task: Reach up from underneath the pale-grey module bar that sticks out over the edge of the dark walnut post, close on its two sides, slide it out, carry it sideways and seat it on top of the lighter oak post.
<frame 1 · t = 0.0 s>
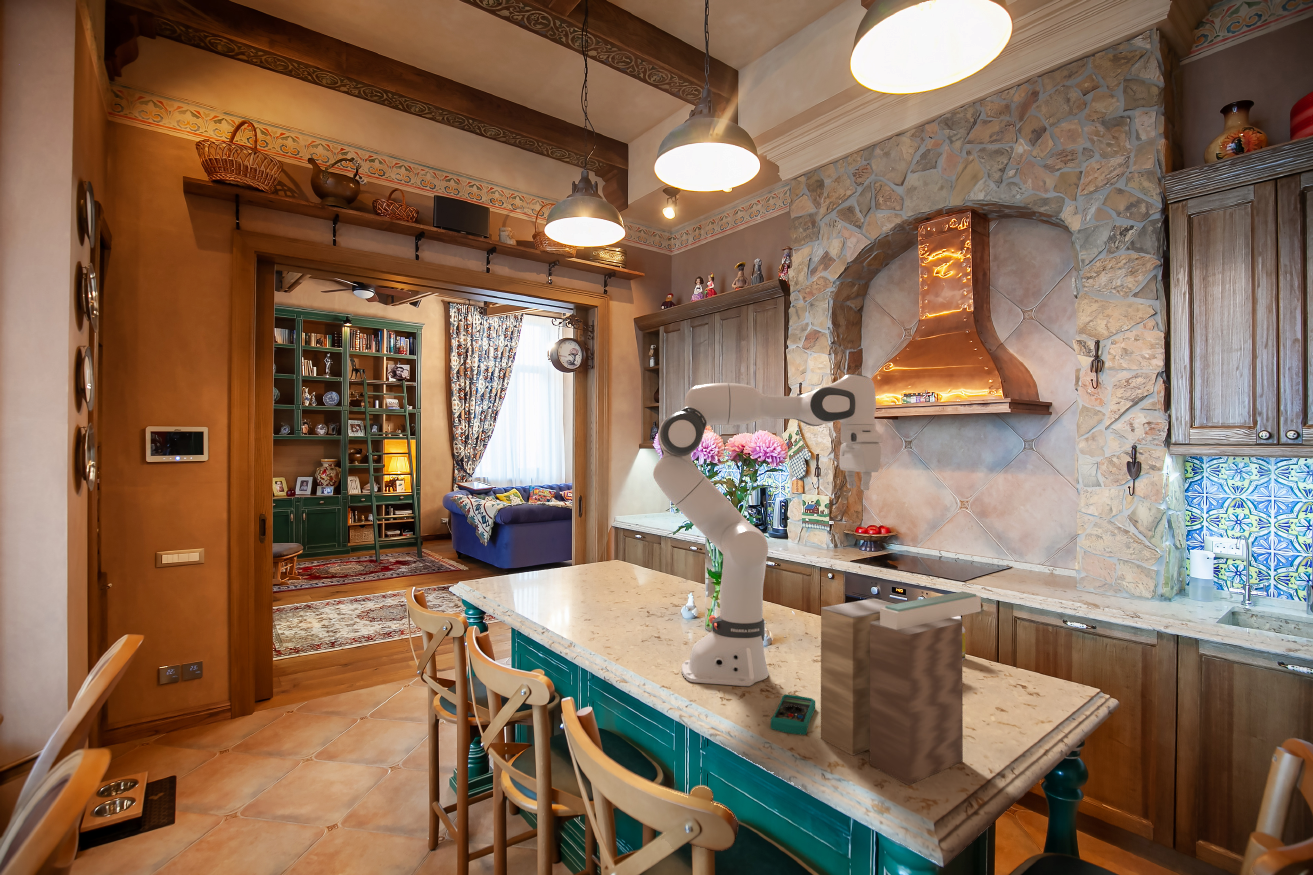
hand: (858, 488, 159), 48 cm above the countertop, tool pointing down, fingers open, 8 cm apart
walnut post: (916, 762, 112), on the countertop
digital multimeter: (793, 721, 130), on the countertop
oak post: (863, 736, 122), on the countertop
pill bottle: (952, 658, 171), on the countertop
module bar: (932, 617, 115), point 26 cm above the countertop, touching walnut post
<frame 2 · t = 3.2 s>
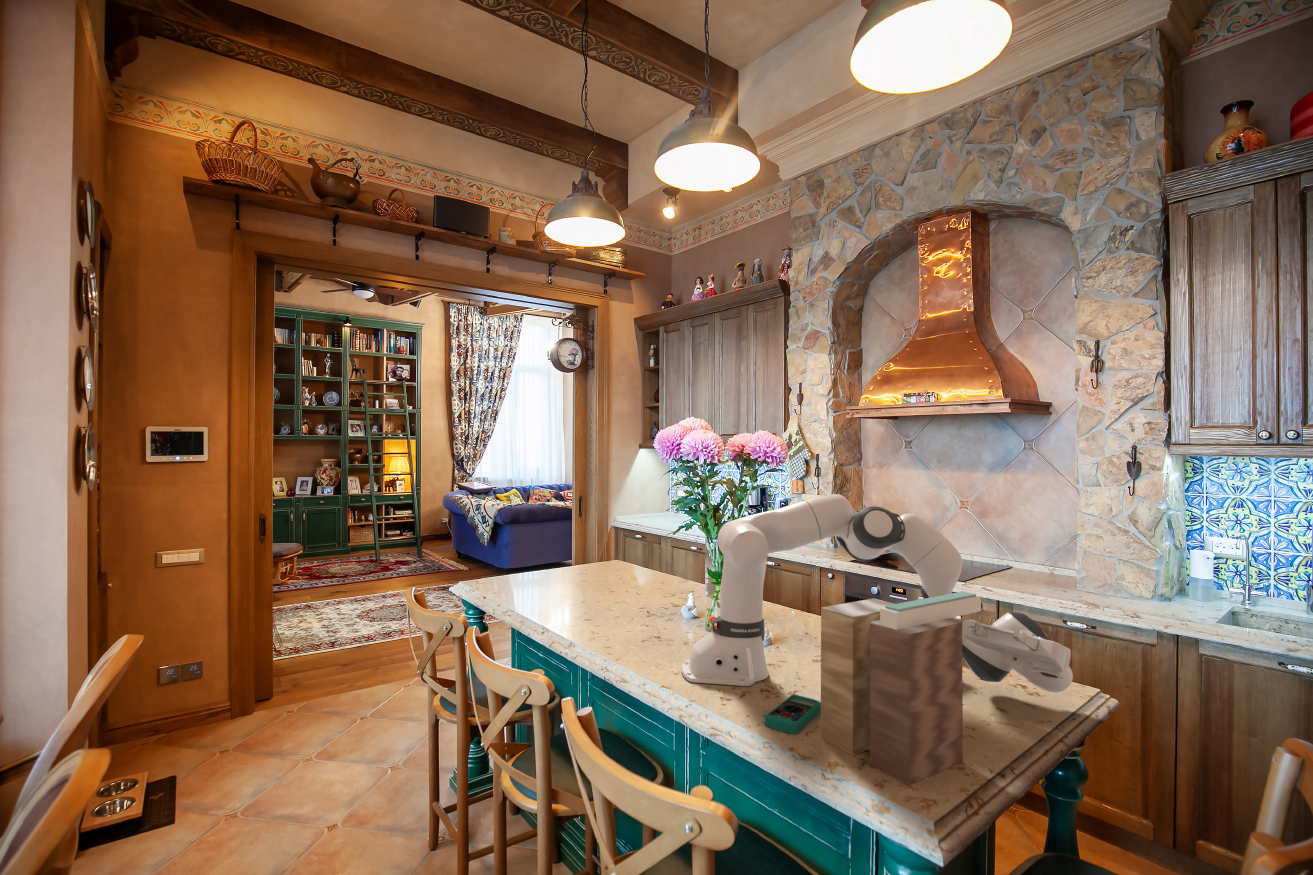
hand: (993, 628, 126), 21 cm above the countertop, tool pointing upward, fingers open, 8 cm apart
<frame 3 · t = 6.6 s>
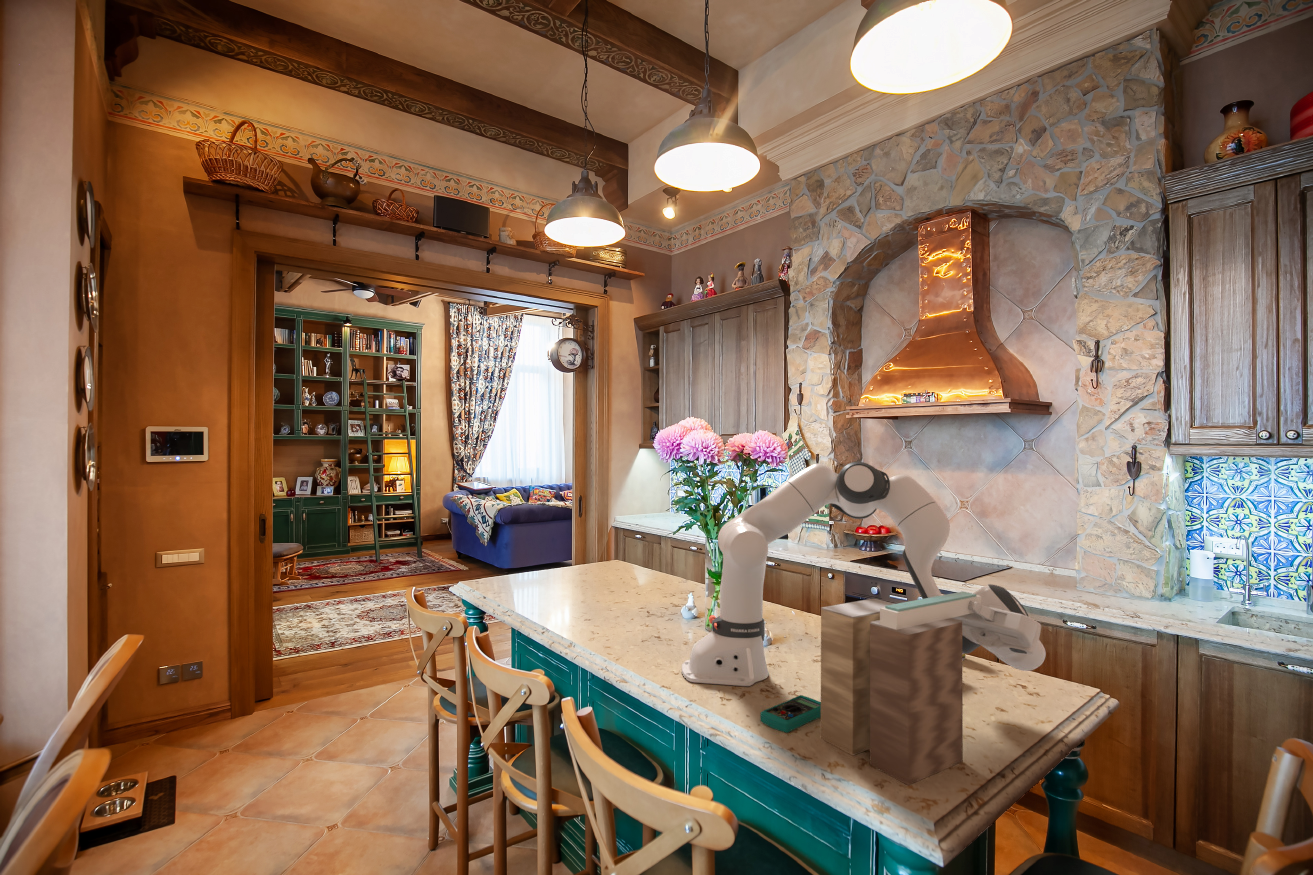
hand: (960, 601, 120), 28 cm above the countertop, tool pointing upward, fingers closed on module bar, 3 cm apart
module bar: (932, 617, 115), point 26 cm above the countertop, touching gripper, walnut post
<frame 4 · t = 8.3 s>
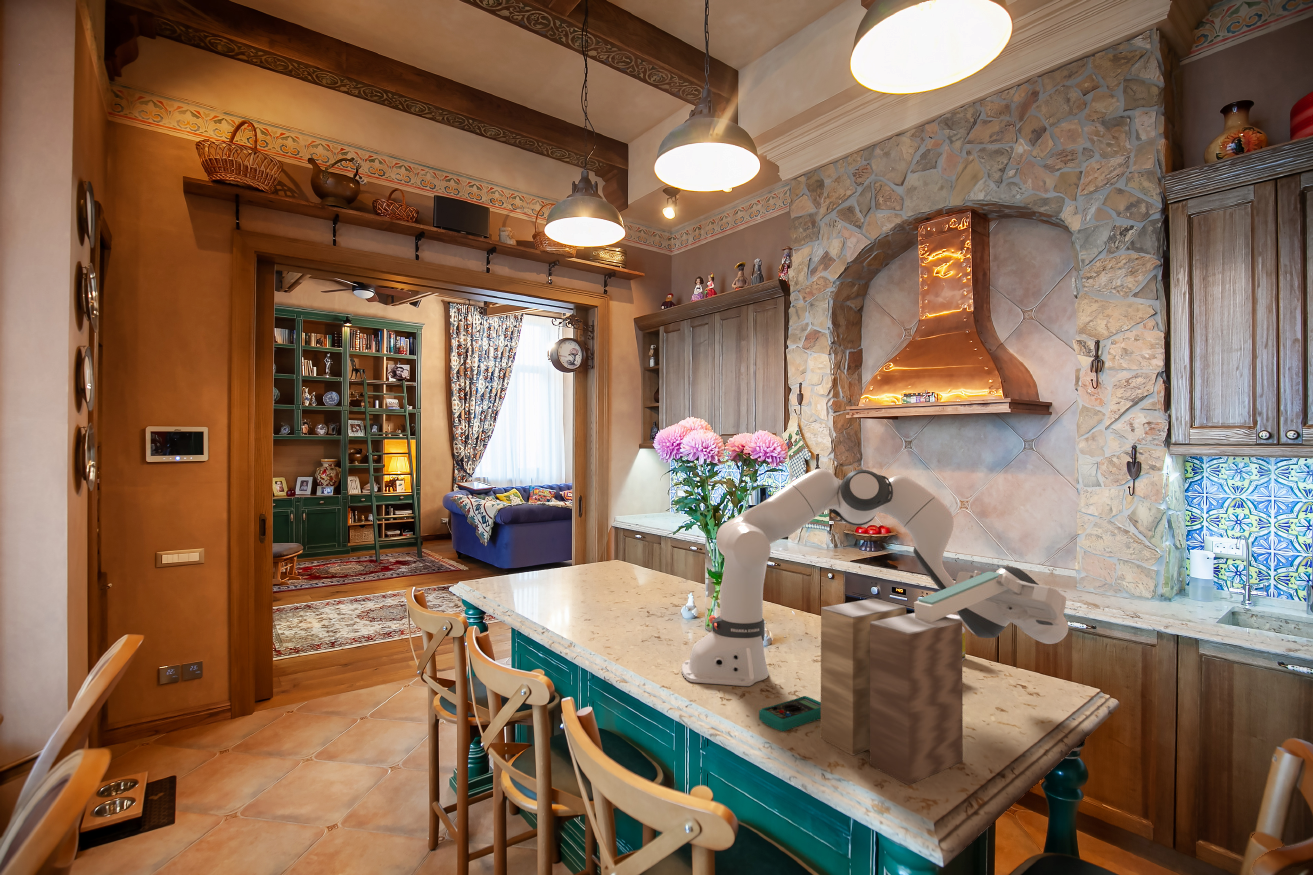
hand: (988, 576, 125), 32 cm above the countertop, tool pointing upward, fingers closed on module bar, 3 cm apart
module bar: (963, 602, 120), point 28 cm above the countertop, tilted 7°, touching gripper, walnut post
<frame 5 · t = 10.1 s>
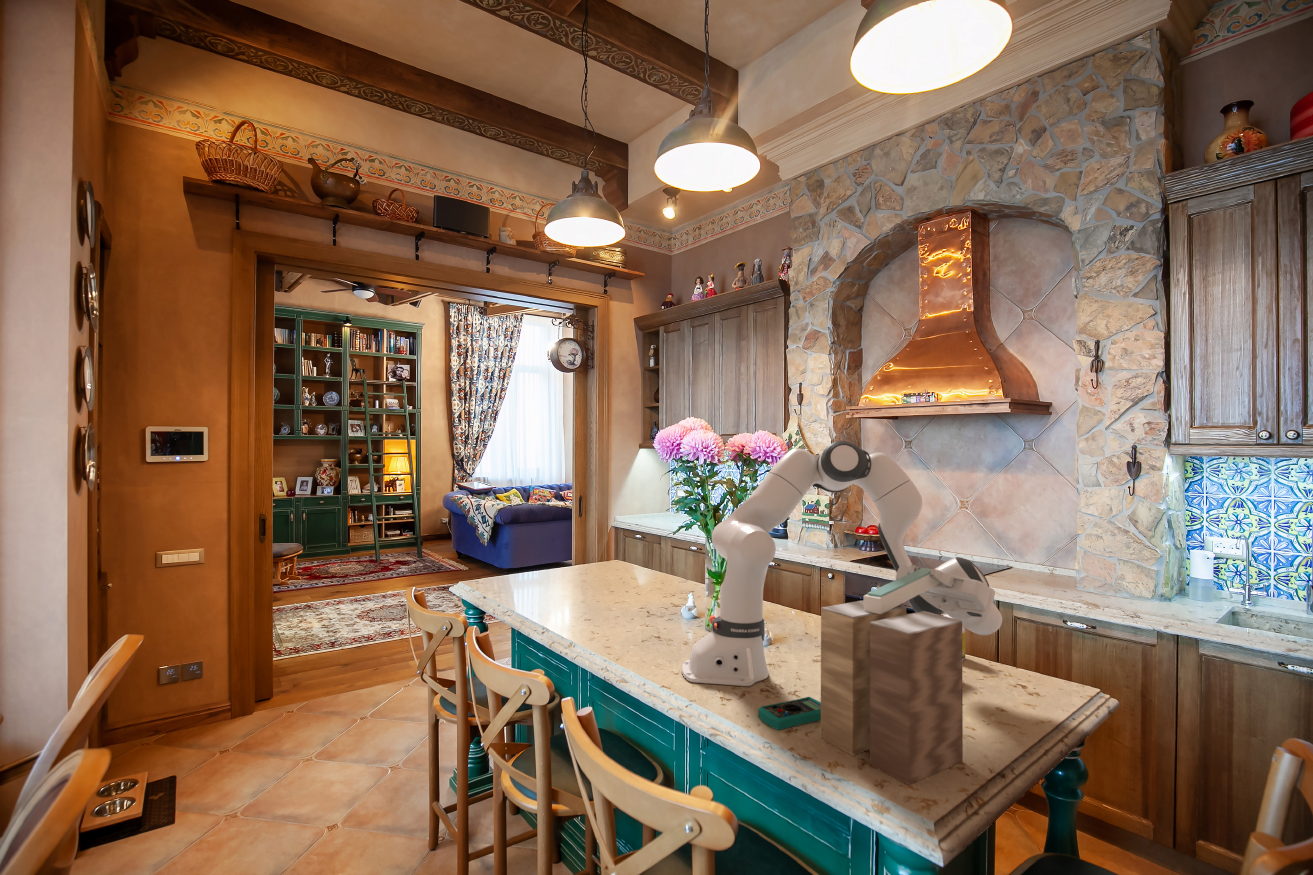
hand: (922, 570, 133), 32 cm above the countertop, tool pointing upward, fingers closed on module bar, 4 cm apart
module bar: (904, 596, 127), point 27 cm above the countertop, tilted 5°, touching gripper
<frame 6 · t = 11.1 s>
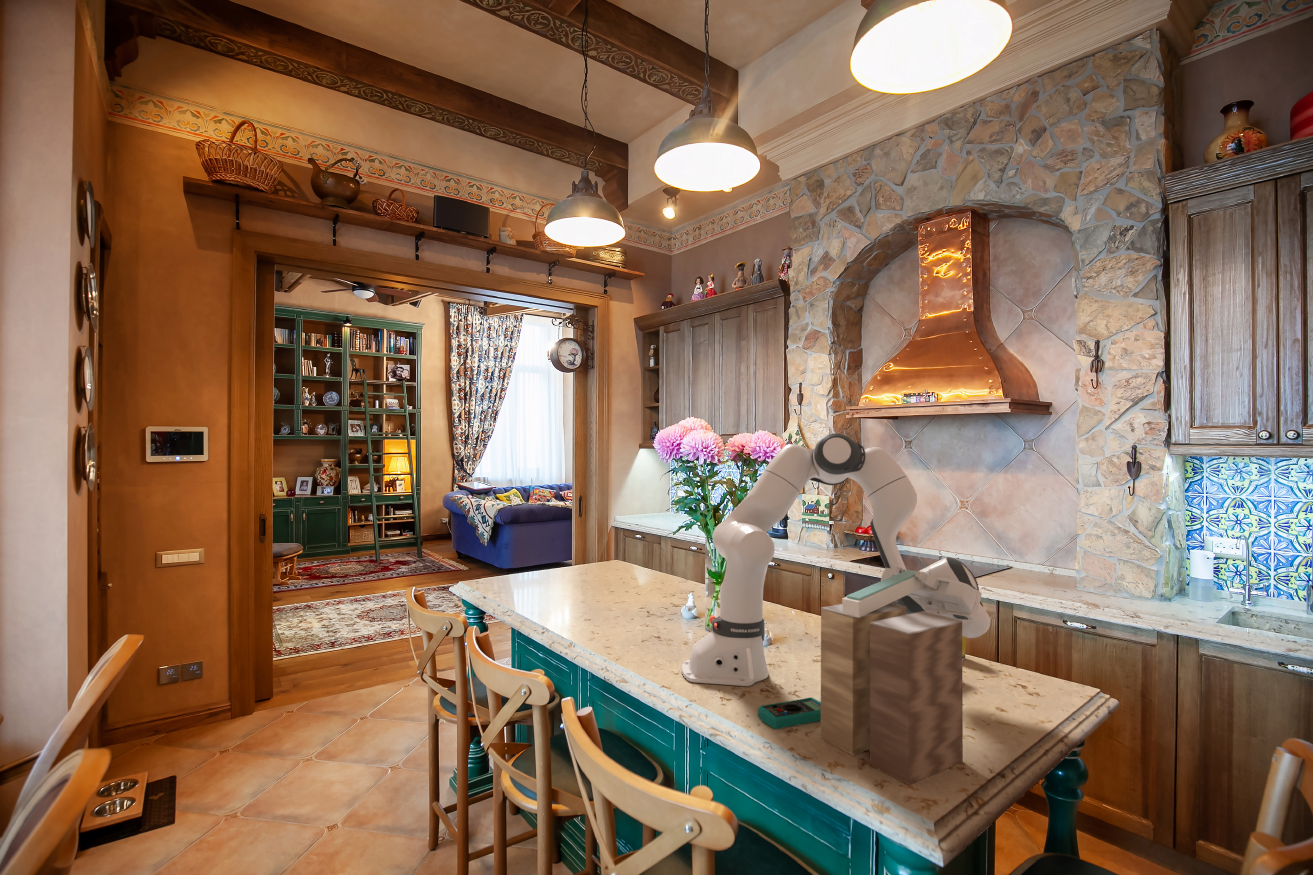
hand: (907, 572, 130), 32 cm above the countertop, tool pointing upward, fingers closed on module bar, 4 cm apart
module bar: (886, 599, 124), point 27 cm above the countertop, tilted 5°, touching gripper, oak post
when the fingers open (30 cm above the countertop, at t = 11.8 s): module bar stays where it is, resting on oak post.
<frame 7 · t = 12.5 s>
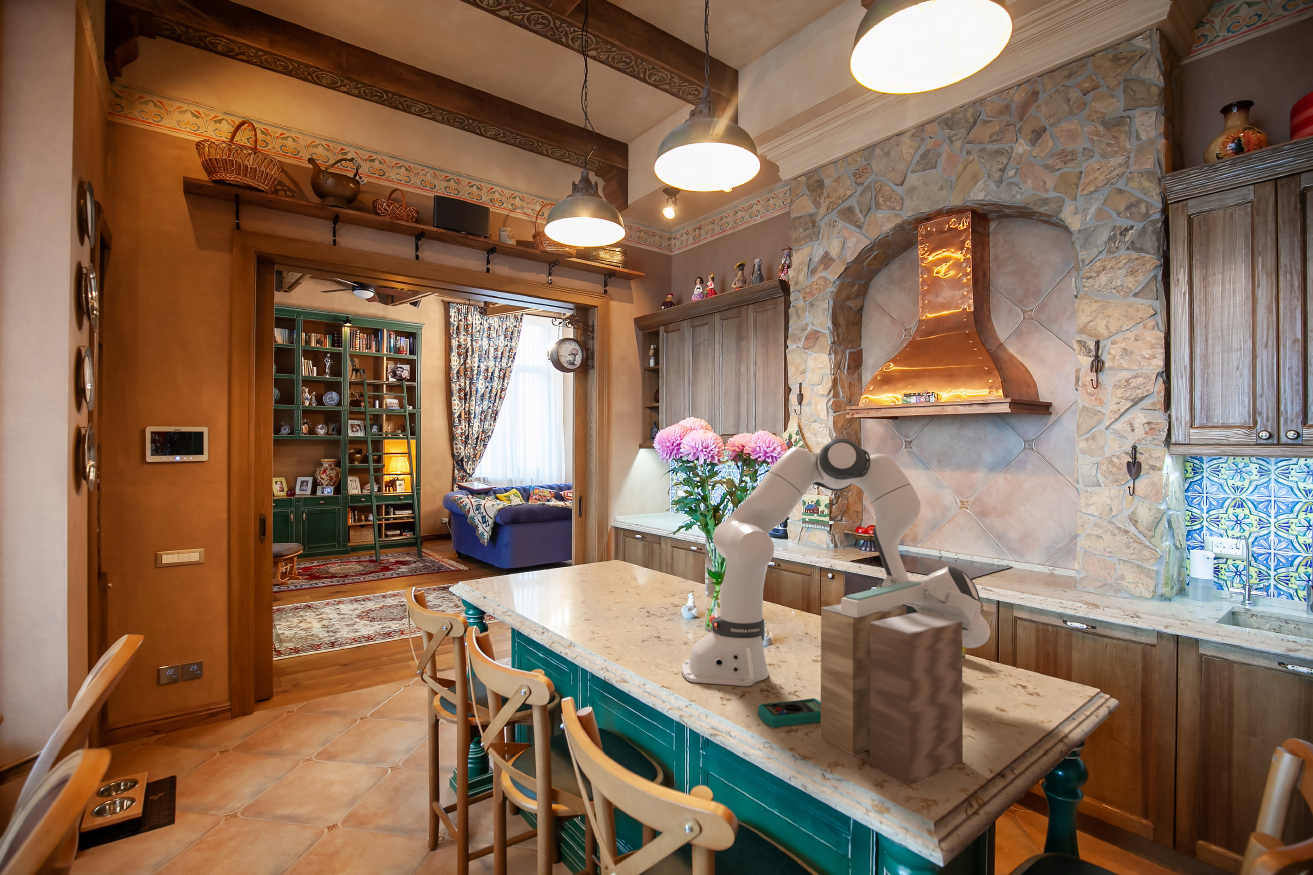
hand: (907, 582, 130), 29 cm above the countertop, tool pointing upward, fingers open, 8 cm apart
module bar: (885, 605, 124), point 26 cm above the countertop, touching oak post
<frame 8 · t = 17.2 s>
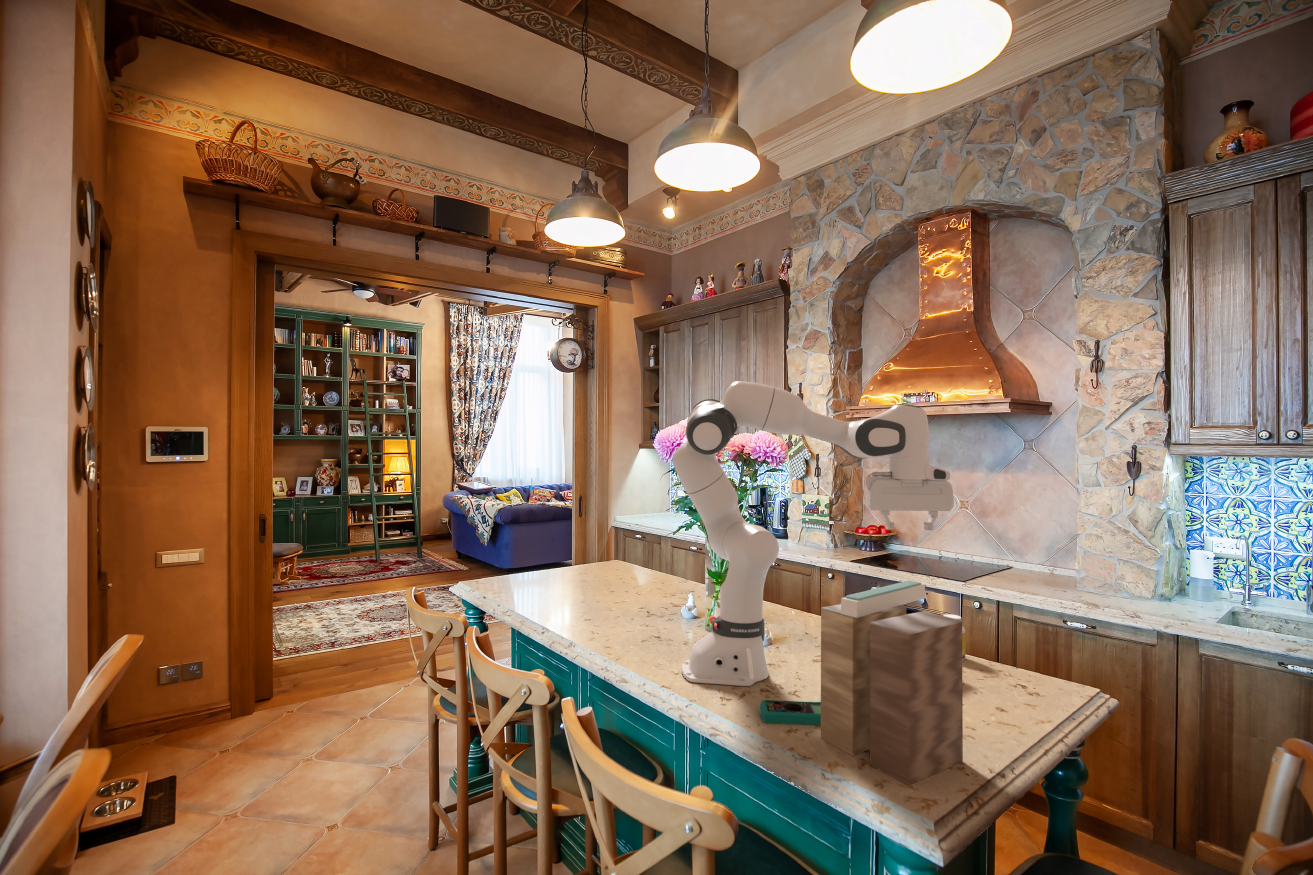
hand: (909, 529, 145), 39 cm above the countertop, tool pointing down, fingers open, 8 cm apart
at the end: module bar inside the target area on the oak post (1.3 cm from its centre), point 26.0 cm above the oak post's base; module bar touching oak post; the gripper is holding nothing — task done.
